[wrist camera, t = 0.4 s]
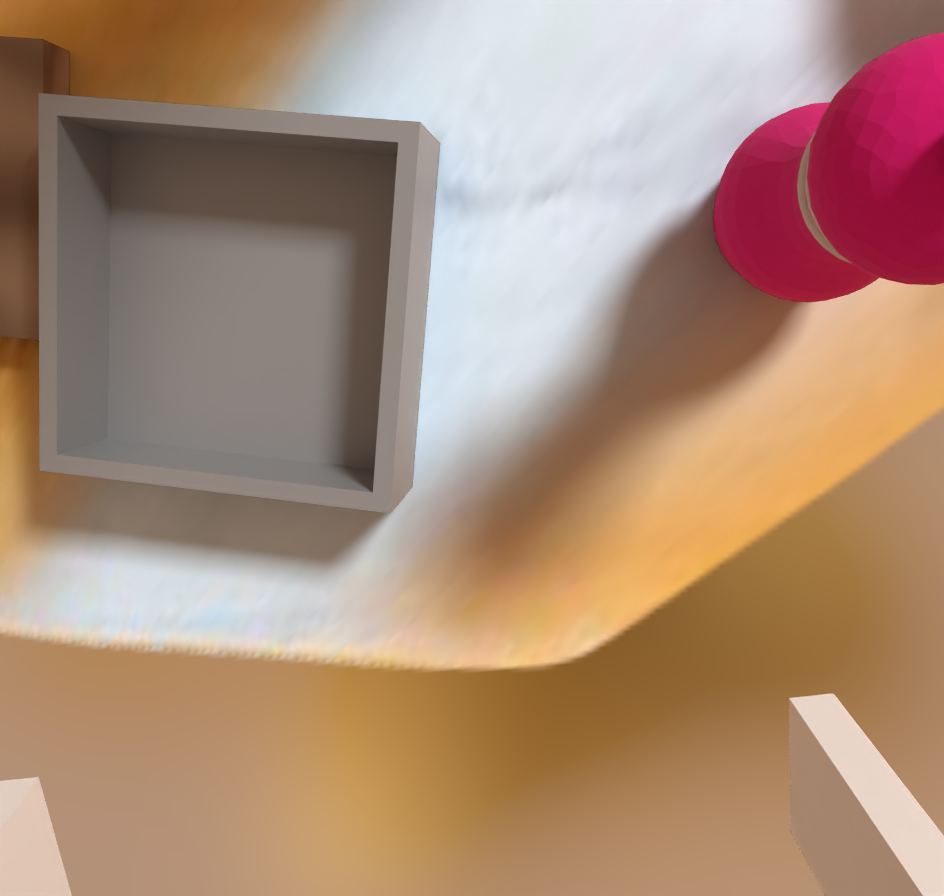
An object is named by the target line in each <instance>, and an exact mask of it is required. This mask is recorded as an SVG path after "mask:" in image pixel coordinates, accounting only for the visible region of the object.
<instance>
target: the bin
mask: <svg viewBox="0 0 944 896" xmlns="http://www.w3.org/2000/svg"><path fill="white" fill-rule="evenodd" d="M439 152H440V142H439V141H438V140H437V139H436V138H435V137H434V136H433V135H432V134H431V133H430V132H429V131H428V130H427V129H426V128H425V127H424V126H423V125H422V124H421V122H412V121H399V120H386V119H372V118H359V117H346V116H333V115H320V114H307V113H294V112H281V111H267V110H254V109H241V108H228V107H215V106H202V105H189V104H176V103H162V102H149V101H136V100H123V99H110V98H97V97H84V96H71V95H57V94H44V93H39V471H46V472H54V473H62V474H71V475H79V476H87V477H95V478H103V479H112V480H120V481H128V482H136V483H145V484H153V485H161V486H169V487H177V488H186V489H194V490H202V491H210V492H218V493H227V494H235V495H243V496H251V497H259V498H268V499H276V500H284V501H292V502H301V503H309V504H317V505H325V506H333V507H342V508H350V509H358V510H366V511H374V512H383V513H391V512H392V511H393V509H394V508H395V507H396V506H397V505H398V503H399V502H400V501H401V500H402V499H403V497H404V496H405V495H406V494H407V493H408V491H409V490H410V489H411V488H412V485H413V472H414V460H415V448H416V435H417V423H418V411H419V398H420V386H421V374H422V361H423V349H424V337H425V324H426V312H427V300H428V287H429V275H430V263H431V250H432V238H433V226H434V213H435V201H436V189H437V176H438V164H439Z"/></svg>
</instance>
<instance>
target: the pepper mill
mask: <svg viewBox="0 0 944 896" xmlns="http://www.w3.org/2000/svg"><path fill="white" fill-rule="evenodd" d="M713 224H714V232H715V236H716V241H717V243H718V245H719V248H720V250H721V252H722V254H723V256H724V257H725V258H726V260H727V261H728V263H729V264H730V265H731V266H732V267H733V268H734V269H735V270H736V271H737V272H738V273H739V274H740V275H742V276H743V277H744V278H745V279H746V280H747V281H748V282H749V283H751V284H752V285H754V286H755V287H757V288H758V289H760V290H761V291H763V292H765V293H768V294H770V295H773V296H775V297H778V298H780V299H785V300H790V301H796V302H816V301H825V300H829V299H833V298H837V297H840V296H844V295H848V294H850V293H853V292H855V291H857V290H860V289H862V288H864V287H866V286H867V285H869V284H871V283H872V282H874V281H876V280H877V279H878V278H879V277H880V278H883V279H887V280H891V281H895V282H900V283H905V284H920V285H936V284H941V283H944V33H936V34H931V35H927V36H924V37H920V38H917V39H913V40H910V41H908V42H905V43H903V44H901V45H898V46H896V47H894V48H893V49H891V50H889V51H888V52H886V53H884V54H883V55H881V56H879V57H878V58H876V59H874V60H873V61H871V62H869V63H868V64H866V65H865V66H863V67H862V68H861V69H860V70H859V71H858V72H857V73H856V74H855V75H854V76H853V77H852V78H851V79H850V80H849V81H848V83H847V84H846V85H845V86H844V87H843V88H842V89H841V90H840V91H839V92H838V93H837V94H836V95H835V96H834V98H833V100H832V101H831V102H829V103H817V104H810V105H806V106H803V107H799V108H796V109H792V110H790V111H788V112H786V113H784V114H781V115H779V116H777V117H775V118H773V119H771V120H769V121H768V122H766V123H765V124H763V125H762V126H760V127H759V128H757V129H756V130H755V131H754V132H753V133H752V134H751V135H749V136H748V137H747V138H746V139H745V140H744V141H743V143H742V144H741V145H740V146H739V148H738V149H737V150H736V151H735V153H734V154H733V156H732V158H731V159H730V161H729V163H728V164H727V166H726V169H725V171H724V173H723V176H722V178H721V181H720V185H719V189H718V193H717V197H716V200H715V206H714V212H713Z"/></svg>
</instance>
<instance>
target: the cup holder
mask: <svg viewBox="0 0 944 896" xmlns="http://www.w3.org/2000/svg"><path fill="white" fill-rule="evenodd" d="M69 68H70V52H69V51H67V50H65V49H63V48H61V47H59V46H56V45H54V44H52V43H50V42H48V41H46V40H44V39H31V38H16V37H2V36H0V336H1V337H11V338H20V339H30V340H39V93H44V94H57V95H69Z"/></svg>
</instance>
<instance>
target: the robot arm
mask: <svg viewBox="0 0 944 896" xmlns="http://www.w3.org/2000/svg"><path fill="white" fill-rule="evenodd" d="M789 709H790V710H789V711H790V712H789V717H790V719H789V720H790V816H791V819H790V821H791V834H792V835H793V837H794V839H795V841H796V843H797V845H798V847H799V849H800V850H801V852H802V854H803V856H804V858H805V860H806V862H807V864H808V865H809V867H810V869H811V871H812V873H813V875H814V877H815V879H816V880H817V882H818V884H819V886H820V887H821V889H822V891H823V893H824V895H825V896H944V836H943V834H942V833H941V832H940V831H939V829H938V828H937V827H936V825H935V824H934V823H933V822H932V820H931V819H930V818H929V816H928V815H927V814H926V812H925V811H924V810H923V809H922V807H921V806H920V805H919V804H918V802H917V801H916V800H915V798H914V797H913V796H912V794H911V793H910V792H909V791H908V789H907V788H906V787H905V785H904V784H903V783H902V781H901V780H900V779H899V778H898V776H897V775H896V774H895V772H894V771H893V770H892V769H891V767H890V766H889V765H888V763H887V762H886V761H885V759H884V758H883V757H882V756H881V754H880V753H879V752H878V751H877V749H876V748H875V747H874V745H873V744H872V743H871V741H870V740H869V739H868V738H867V736H866V735H865V734H864V732H863V731H862V730H861V728H860V727H859V726H858V725H857V723H856V722H855V721H854V719H853V718H852V717H851V716H850V714H849V713H848V712H847V710H846V709H845V708H844V707H843V705H842V704H841V703H840V702H839V700H838V699H837V698H836V696H835V695H834V694H825V695H815V696H806V697H797V698H789ZM0 896H72V895H71V892H70V888H69V885H68V881H67V877H66V874H65V870H64V867H63V863H62V860H61V856H60V853H59V849H58V846H57V842H56V839H55V835H54V831H53V827H52V824H51V820H50V817H49V813H48V810H47V806H46V803H45V799H44V795H43V792H42V788H41V785H40V781H39V778H38V777H35V778H25V779H16V780H6V781H0Z"/></svg>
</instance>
